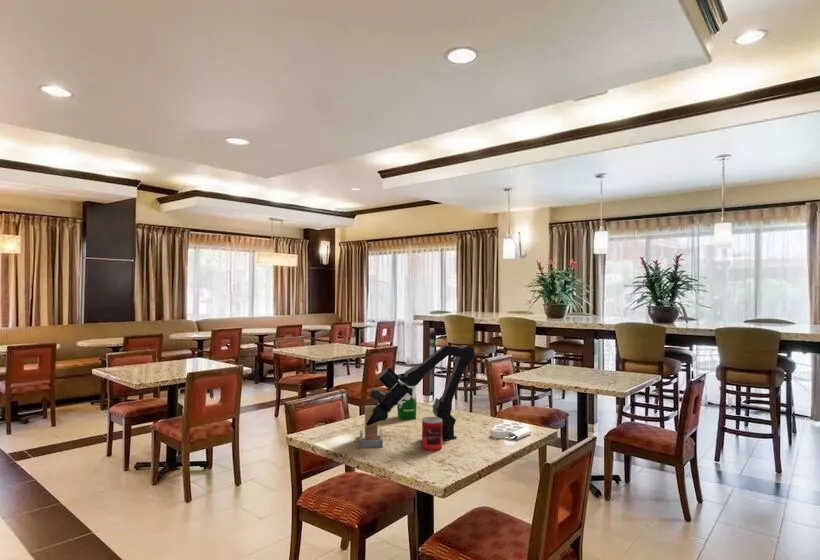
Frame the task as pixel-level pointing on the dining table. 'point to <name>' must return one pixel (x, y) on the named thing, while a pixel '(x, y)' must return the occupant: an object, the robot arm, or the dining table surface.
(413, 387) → the milk carton
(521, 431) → the white egg tray
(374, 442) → the gray u-shaped bracket
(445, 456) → the dining table surface
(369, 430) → the block
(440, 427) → the canned food
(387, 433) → the dining table surface
